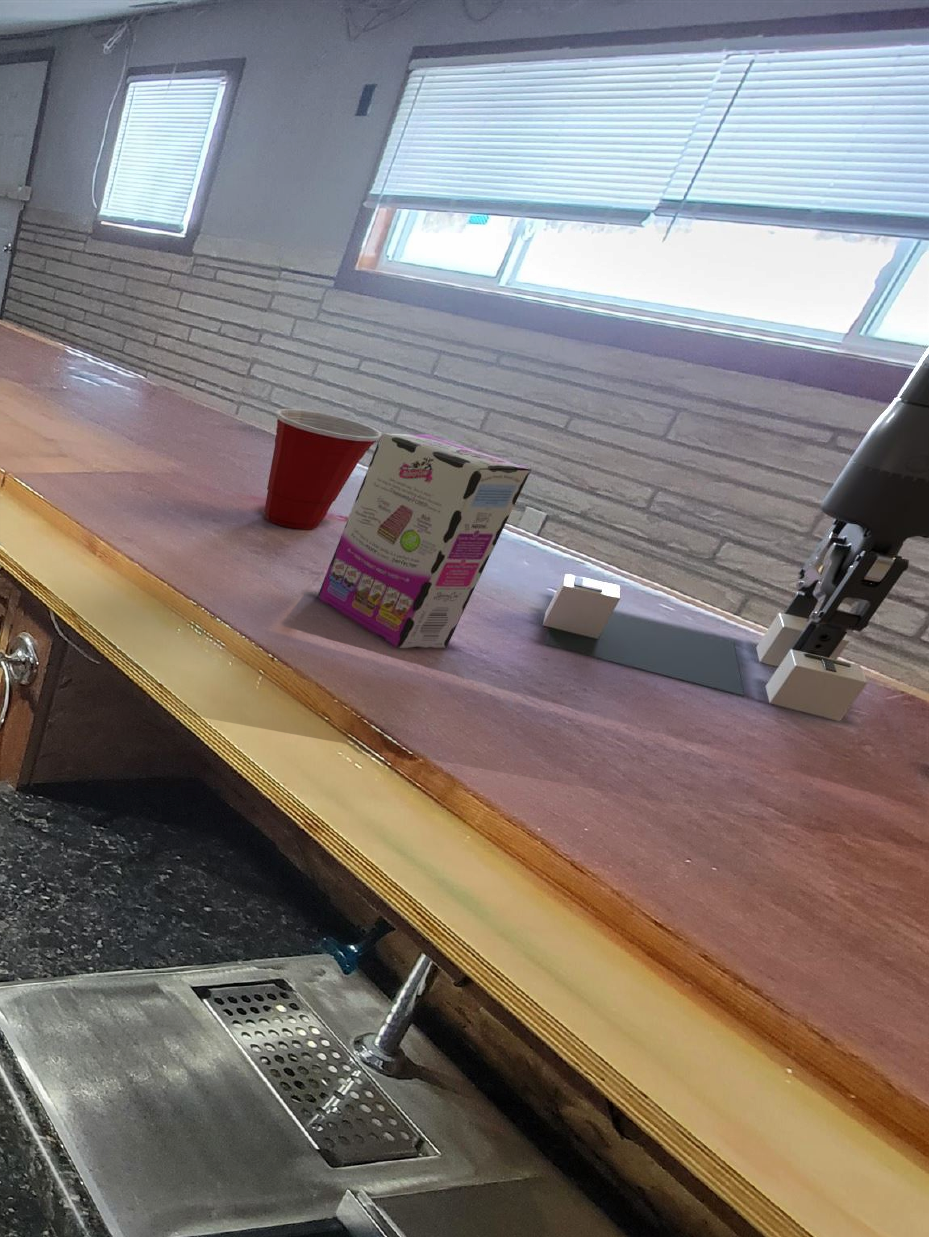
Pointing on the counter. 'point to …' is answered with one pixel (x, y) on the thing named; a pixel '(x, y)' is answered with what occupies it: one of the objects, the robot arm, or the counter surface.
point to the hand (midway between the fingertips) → (794, 650)
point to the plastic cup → (312, 465)
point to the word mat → (659, 651)
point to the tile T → (816, 684)
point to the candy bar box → (420, 537)
